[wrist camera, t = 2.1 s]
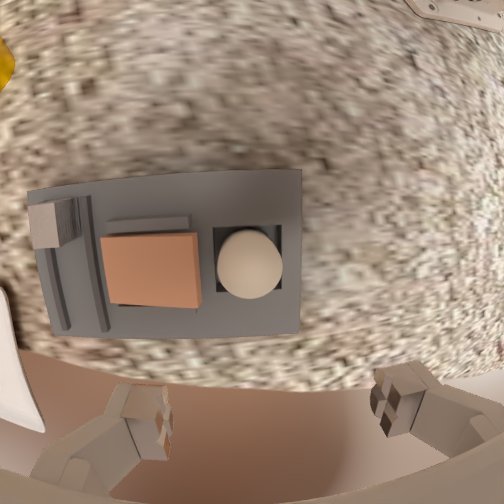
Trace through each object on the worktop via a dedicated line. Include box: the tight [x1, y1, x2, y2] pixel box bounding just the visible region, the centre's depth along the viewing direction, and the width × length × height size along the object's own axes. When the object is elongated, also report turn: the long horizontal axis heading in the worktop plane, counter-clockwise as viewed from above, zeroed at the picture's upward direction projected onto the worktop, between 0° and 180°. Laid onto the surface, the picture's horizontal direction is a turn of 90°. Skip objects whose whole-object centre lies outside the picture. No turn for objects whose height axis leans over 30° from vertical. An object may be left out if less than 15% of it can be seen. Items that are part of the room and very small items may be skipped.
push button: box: [217, 228, 283, 299], centre depth 23 cm, size 4×4×3 cm
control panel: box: [27, 169, 302, 339], centre depth 24 cm, size 22×13×6 cm, turn 91°
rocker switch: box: [100, 233, 202, 308], centre depth 22 cm, size 7×5×1 cm
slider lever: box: [28, 197, 81, 249], centre depth 20 cm, size 2×3×4 cm
